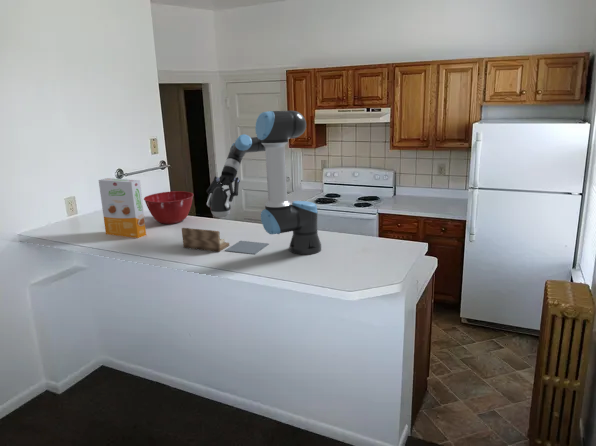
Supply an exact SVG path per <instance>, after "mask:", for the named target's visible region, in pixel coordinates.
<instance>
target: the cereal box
mask: <svg viewBox="0 0 596 446" xmlns="http://www.w3.org/2000/svg"><path fill="white" fill-rule="evenodd" d="M141 185H142V184H141V180H140V179H127V178H126V179H125V178H113V177H112V178H111V177H107V178H102V179H101V178H100V179H98V187H99V193H100V200H101V207H102V215H103V221H104V229H105V235H110V236H117V237H125V238H132V239H133V238H134V239H140V238H142V237H145V236H147V232H146V231H147V230H146V229H147V228H146V222H145V212H144V206H143V205H144V204H143V196H142V187H141Z"/></svg>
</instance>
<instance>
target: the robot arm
mask: <svg viewBox="0 0 596 446" xmlns="http://www.w3.org/2000/svg"><path fill="white" fill-rule="evenodd" d="M254 127H255V130H254V131H255V134H256V136H253V137H251V136H250V135H248V134H245V133H244V134H240V135H239V136H238V137H237V138H236V140H234V141H235V142H233V143H232V144H231V147H229V151H228V155H227V157H226V160H225V162H224V165H223V168H222V170H221V175H220V176H219V177H217V176H214V178H213V180H212V182H211V183H210V185H209V186H208V188H207V189H206V190H205V191H206V193H207V195H208V196H207V197H206V199H207V202H206V206H207V207H208V208H210V202H211V197H212V193H213V191H214V189H215V188H216V187H222V188H223V187H224V186H228V188H229V190H228V191H229V193H227V195H228V197H227V200H226V203H225V206H226V208H228V207H229V204H230V205H231V202H232V201H233V199H234V197H238V195H239V184H240V182H241V180H240V178H239V177H237V174H238V172H239V169H240V166H241V163H242V161H243V158H244V156H245V155H246V154H247V153H249V154H250V153H256V152H258V153H259V152H265V165H266V180H267V182H266V183H267V202H265V205H264V206H265V209H263V210H262V211H260V212H261V213H260V222H261V224H262V226H263V229H264V230H265V232H266V233H268V234H269V235H280V234H284V233H290V232H292V236H291V240H290V243H289V251H290V252H291V253H293V254H297V255H314V254H316V253H319V252H321V251H322V242H321V240H320V237H319V233H318V206H317V204H316V203H315V202H312V201H306V200H294V201H292V203H291V202H290V200H288V189H287V187H288V186H287V167H286V145H287V144H288V143H289V139H297V138H299V137H301V136H302V135H303V134H304V133H305V131H306V129H307V121H306V118H305V116H303V114H302V113H300V112H299V111H297V110H270V111H269V110H268V111H263V112H261V113H260V114H259V115H258V116H257V119H256V122H255V126H254ZM233 183H234V185H233Z"/></svg>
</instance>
